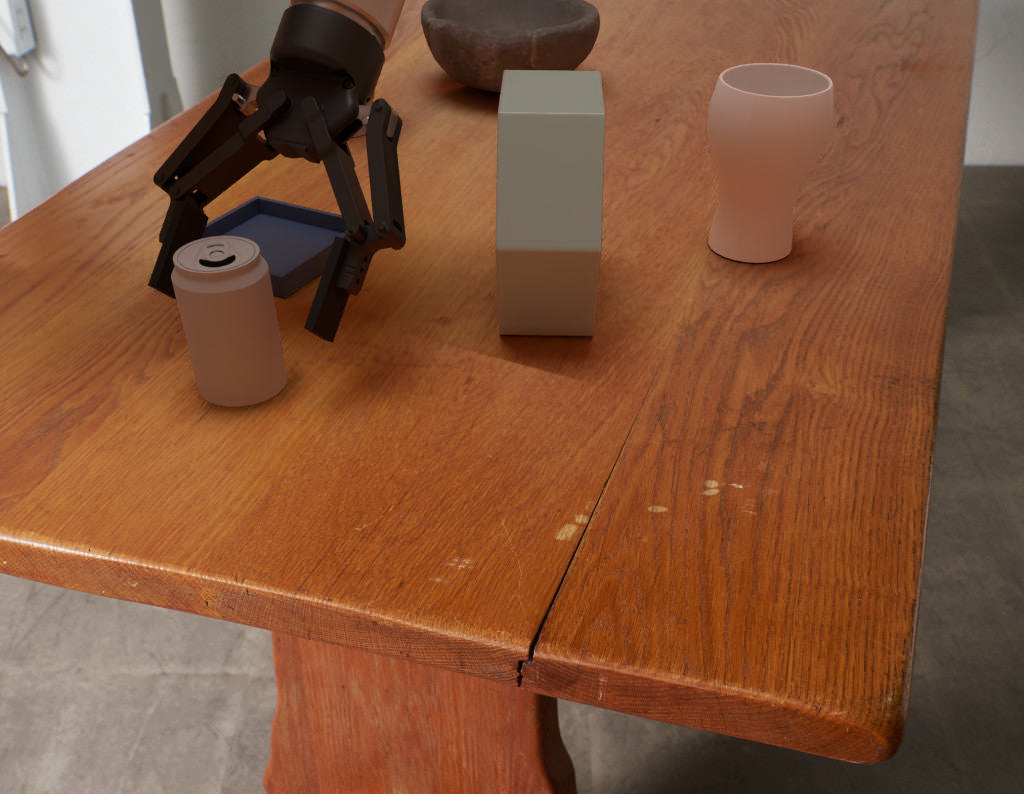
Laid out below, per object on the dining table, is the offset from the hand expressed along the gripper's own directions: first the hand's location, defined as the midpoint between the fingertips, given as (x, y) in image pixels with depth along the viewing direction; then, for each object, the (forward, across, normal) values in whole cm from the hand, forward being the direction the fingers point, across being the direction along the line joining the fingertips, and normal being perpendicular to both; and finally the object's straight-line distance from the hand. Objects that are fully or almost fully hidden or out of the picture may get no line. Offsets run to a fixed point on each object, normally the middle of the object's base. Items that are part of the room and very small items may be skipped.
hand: (238, 314), depth 70 cm
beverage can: (+6, 0, -5) cm, 7 cm away
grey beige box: (-11, -13, -22) cm, 28 cm away
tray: (-9, +14, -19) cm, 26 cm away
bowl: (-47, +17, -58) cm, 76 cm away
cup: (-25, -25, -35) cm, 50 cm away
